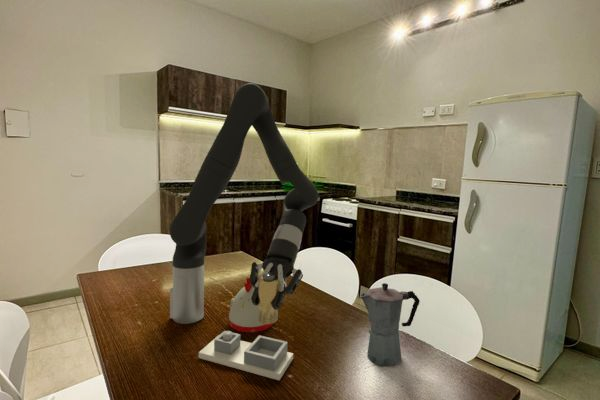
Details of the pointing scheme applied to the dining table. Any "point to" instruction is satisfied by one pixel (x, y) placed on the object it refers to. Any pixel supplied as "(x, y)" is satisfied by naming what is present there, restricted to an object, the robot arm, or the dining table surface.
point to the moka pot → (386, 323)
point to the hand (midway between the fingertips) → (264, 306)
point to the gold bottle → (267, 298)
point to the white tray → (249, 354)
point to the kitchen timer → (245, 311)
